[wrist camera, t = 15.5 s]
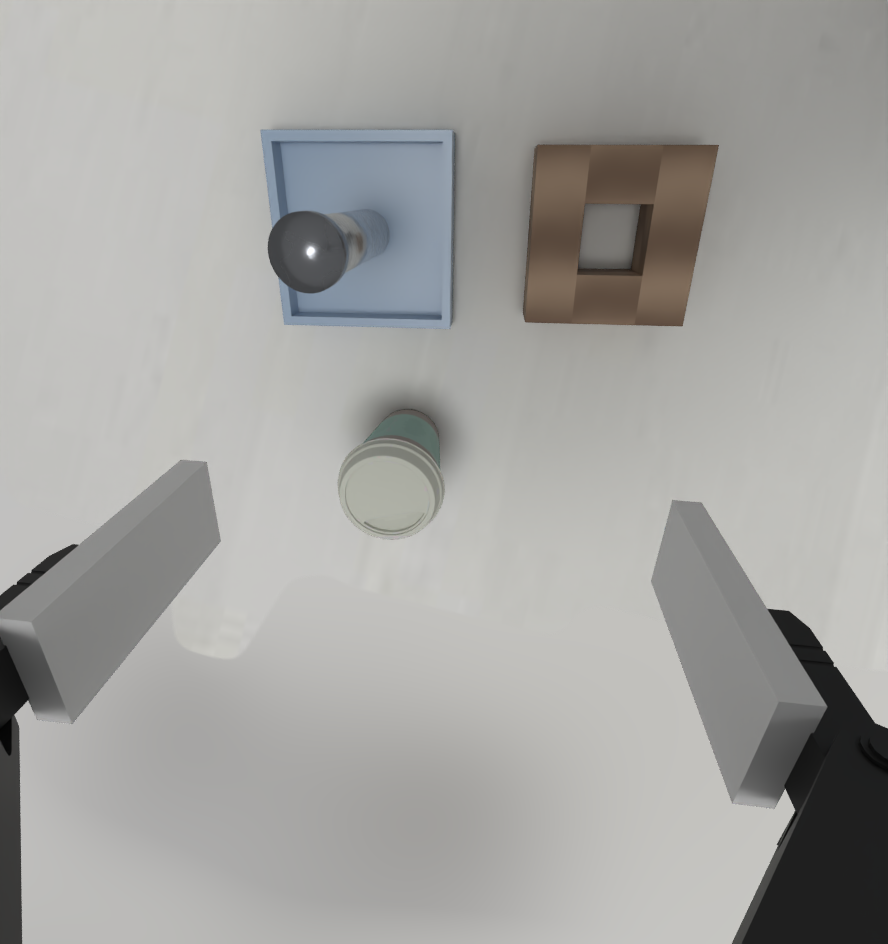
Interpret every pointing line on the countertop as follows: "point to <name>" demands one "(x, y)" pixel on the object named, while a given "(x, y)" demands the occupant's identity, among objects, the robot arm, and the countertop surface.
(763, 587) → the countertop surface
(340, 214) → the pin
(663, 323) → the socket block
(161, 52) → the countertop surface
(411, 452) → the coffee cup
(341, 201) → the tray
